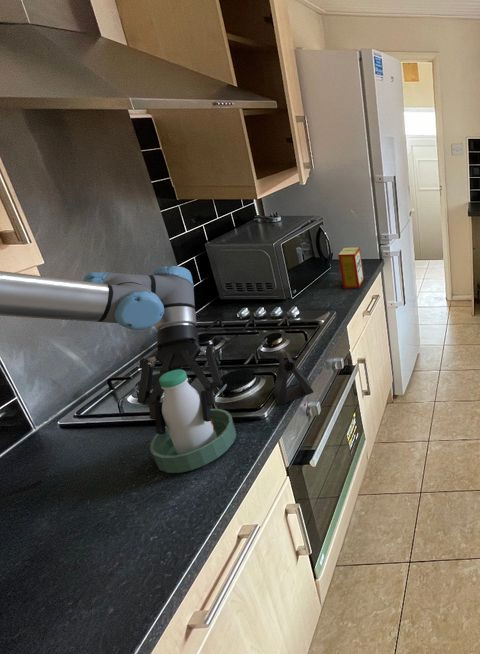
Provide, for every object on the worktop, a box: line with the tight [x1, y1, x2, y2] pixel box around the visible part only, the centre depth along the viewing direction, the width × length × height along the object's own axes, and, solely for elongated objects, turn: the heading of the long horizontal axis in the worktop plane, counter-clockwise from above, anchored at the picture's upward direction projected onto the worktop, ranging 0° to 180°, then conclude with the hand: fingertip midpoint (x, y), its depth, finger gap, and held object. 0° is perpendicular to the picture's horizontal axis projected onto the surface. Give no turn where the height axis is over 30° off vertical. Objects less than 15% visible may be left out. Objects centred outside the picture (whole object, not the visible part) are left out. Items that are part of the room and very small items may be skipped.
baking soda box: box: [337, 246, 365, 290], centre depth 182 cm, size 10×6×16 cm
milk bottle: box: [159, 369, 217, 455], centre depth 93 cm, size 8×8×20 cm
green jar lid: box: [149, 408, 237, 474], centre depth 96 cm, size 15×15×5 cm
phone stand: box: [273, 351, 314, 406], centre depth 113 cm, size 9×6×12 cm, turn 127°
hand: (184, 426), depth 91 cm, fingers closed on milk bottle, 8 cm apart
